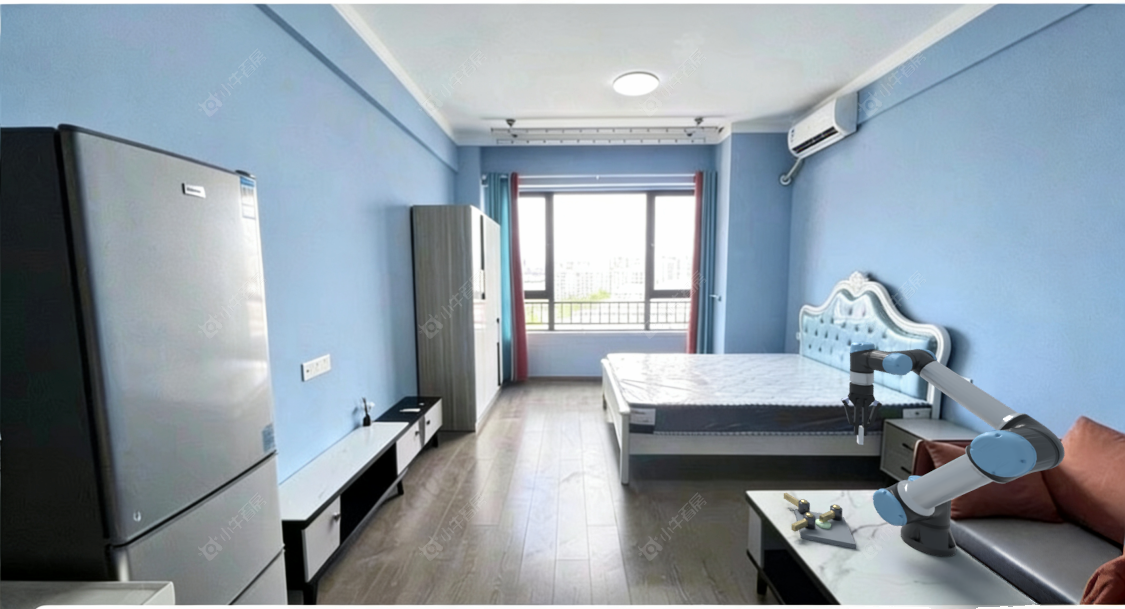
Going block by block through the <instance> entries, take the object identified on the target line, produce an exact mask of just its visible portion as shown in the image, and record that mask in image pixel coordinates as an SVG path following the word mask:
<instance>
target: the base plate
mask: <svg viewBox="0 0 1125 609" xmlns="http://www.w3.org/2000/svg"><path fill="white" fill-rule="evenodd" d="M810 513H812V514H813V515H814V516H815V517H816V522H815V529H807V528H805V527H804V528H802V529H800V530H798V531H799V536H800V538H801V539H805V540H811V541H813V542H814V541H815V542H819V543H820V542H821V543H825V544H830V545H834V546H840V547H845V548H849V549H850V548H851V549H856V545H857V544H856V542H855V539H854V537H853V534H852V533H851V530H850V527H849V525H848V524H847V521H846V519H845V517H844V516H842V520H841V521H836V520H833V519H830V520H828V521H826V522H824V523H822V522H820V521H819V515H821V514H823V513H822V512H815V511H811V510H810ZM794 516H795V519H796V522H797V521H800V520H802V519H803V514H801V513H799V512H798V509H797V508H794Z"/></svg>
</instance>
